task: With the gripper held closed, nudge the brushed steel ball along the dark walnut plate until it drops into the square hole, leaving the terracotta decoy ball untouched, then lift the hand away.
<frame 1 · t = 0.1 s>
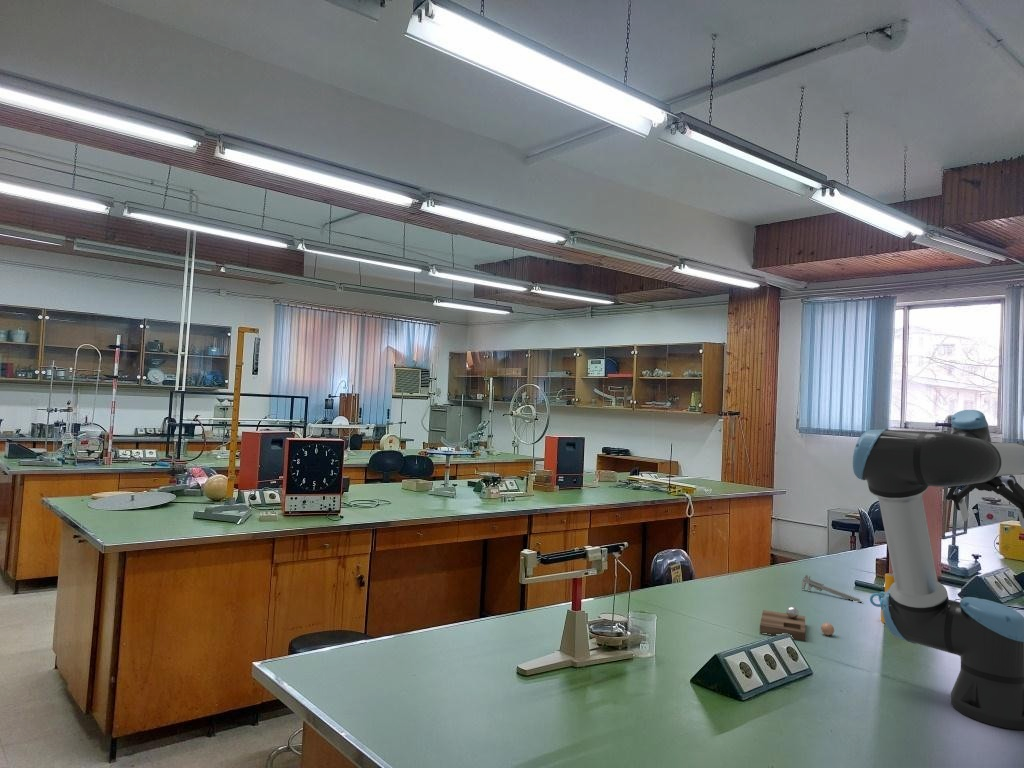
hand: (994, 522, 179), 36 cm above the countertop, tool tilted 35°, fingers open, 13 cm apart
decoy ball: (827, 629, 185), point 2 cm above the countertop
caliper: (831, 597, 228), on the countertop
steel ball: (792, 612, 192), point 4 cm above the countertop, touching hole plate
hole plate: (782, 629, 189), on the countertop
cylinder: (891, 623, 199), on the countertop
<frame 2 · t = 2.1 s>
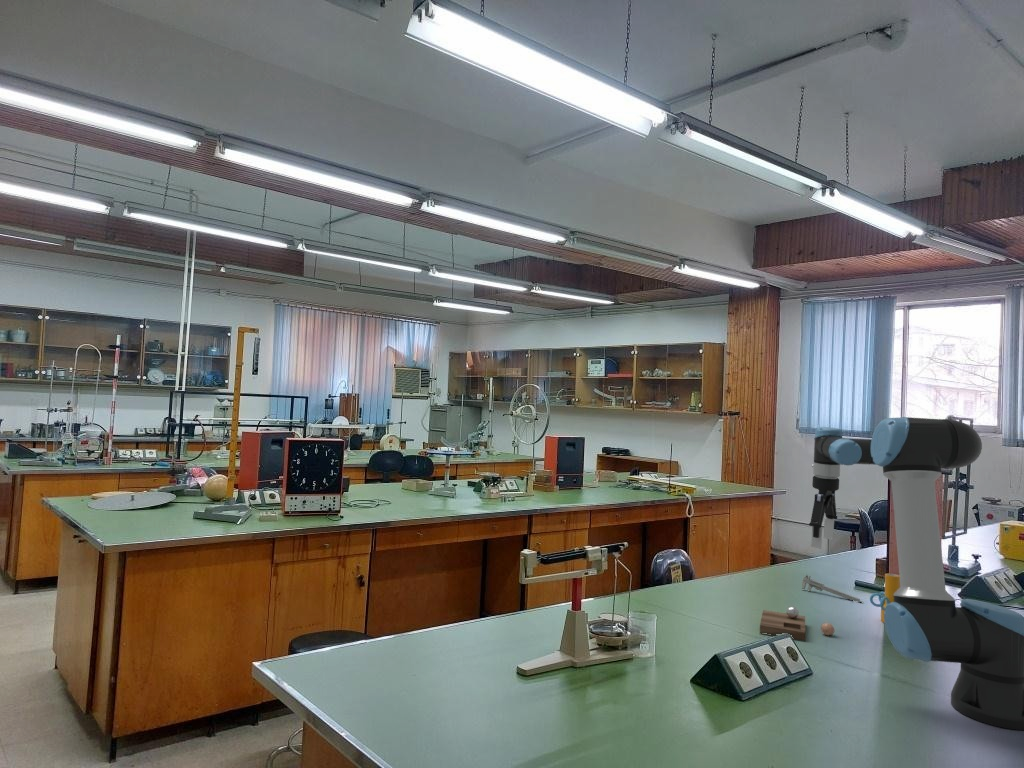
hand: (822, 543, 200), 24 cm above the countertop, tool pointing down, fingers open, 13 cm apart
nothing on the countertop moved.
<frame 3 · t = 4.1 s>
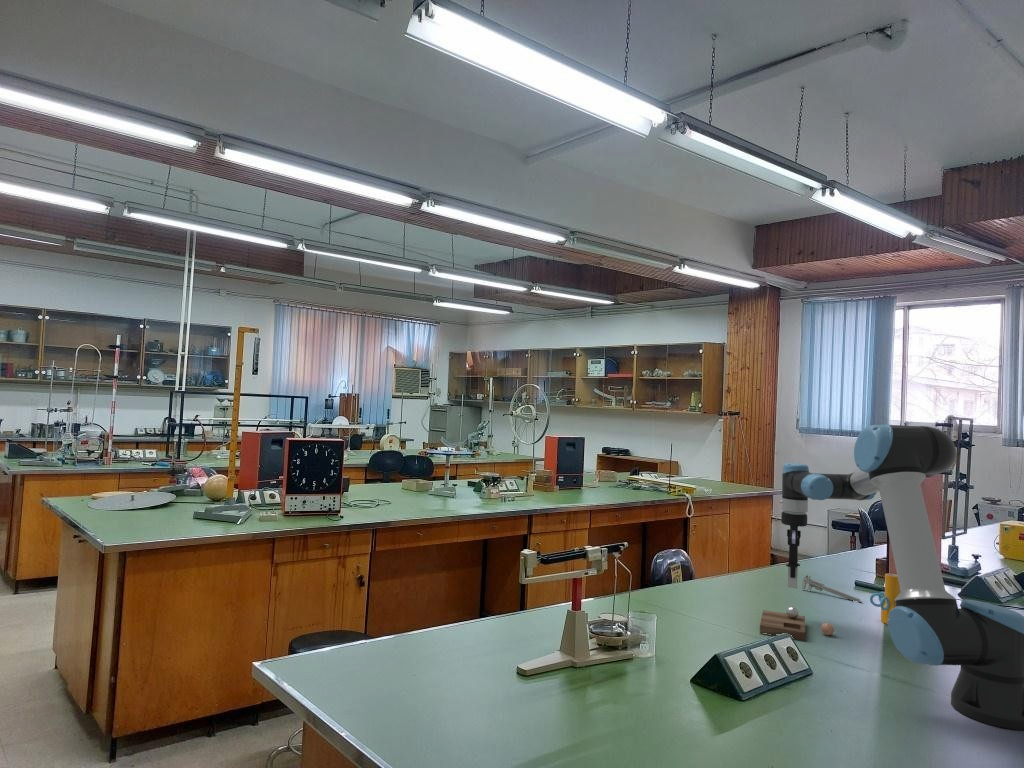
hand: (792, 587, 200), 10 cm above the countertop, tool pointing down, fingers closed
nothing on the countertop moved.
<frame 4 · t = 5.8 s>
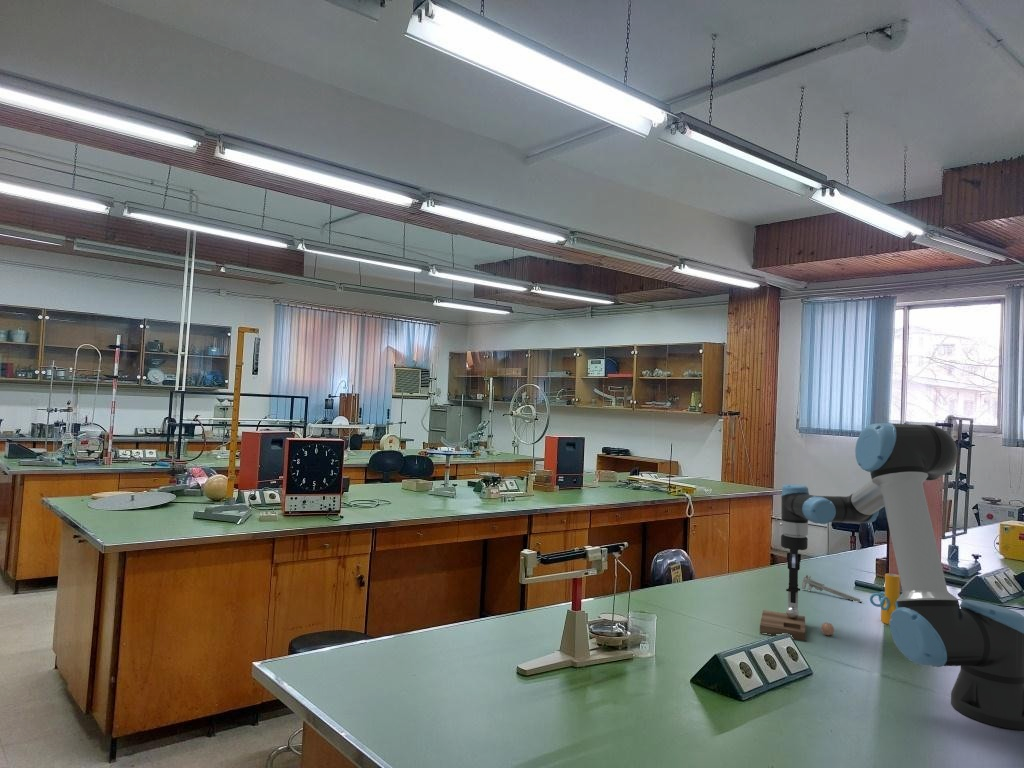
hand: (792, 612, 194), 4 cm above the countertop, tool pointing down, fingers closed
steel ball: (792, 612, 192), point 4 cm above the countertop, tilted 7°, touching gripper, hole plate
everything else where it was.
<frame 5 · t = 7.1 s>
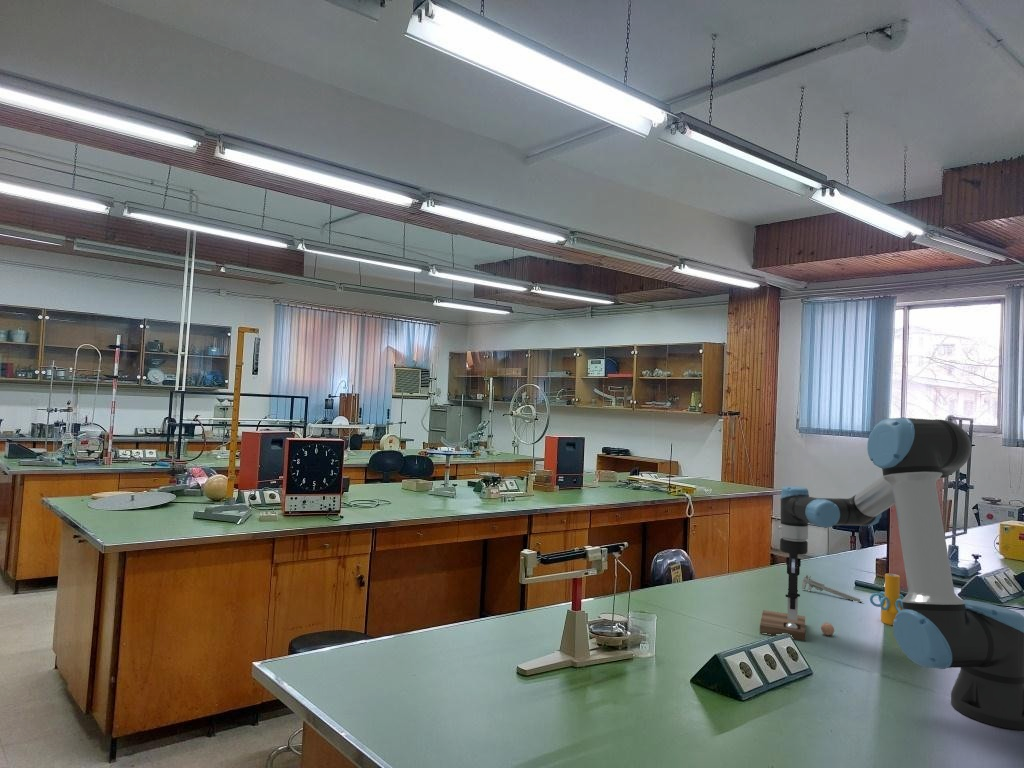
hand: (792, 619, 187), 4 cm above the countertop, tool pointing down, fingers closed
steel ball: (791, 628, 185), point 2 cm above the countertop, tilted 72°
everything else where it was.
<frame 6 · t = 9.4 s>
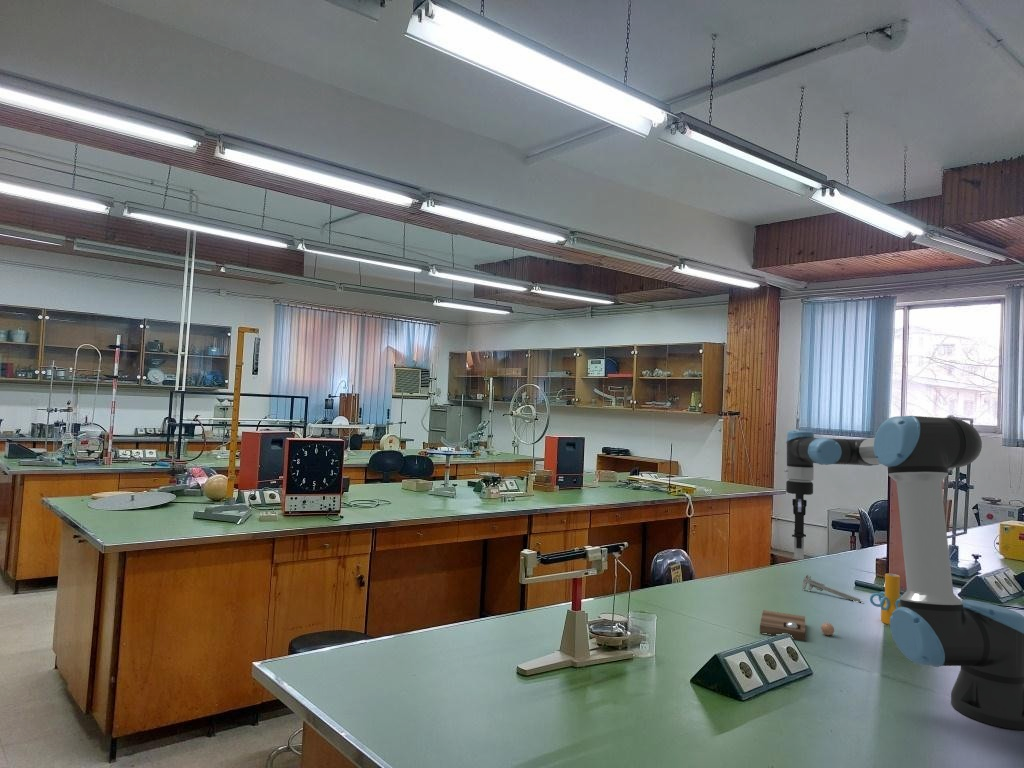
hand: (798, 558, 193), 21 cm above the countertop, tool pointing down, fingers closed
steel ball: (791, 627, 185), point 2 cm above the countertop, tilted 97°
everything else where it was.
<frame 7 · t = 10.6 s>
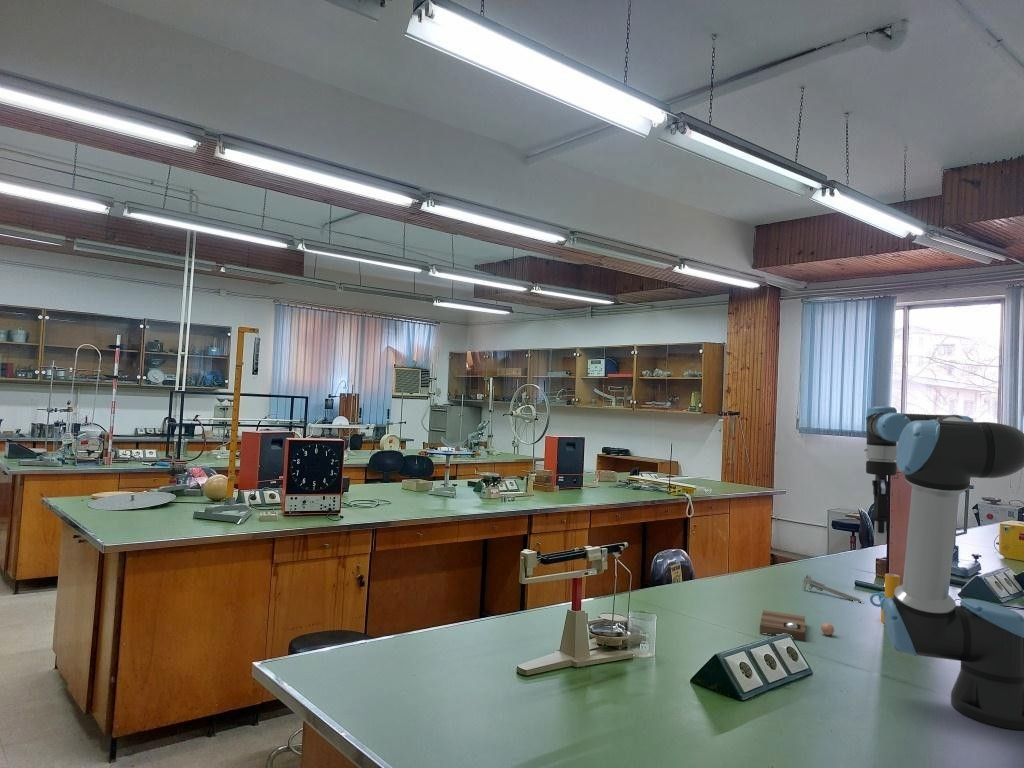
hand: (880, 544, 179), 28 cm above the countertop, tool pointing down, fingers closed
steel ball: (791, 628, 185), point 2 cm above the countertop, tilted 92°
everything else where it was.
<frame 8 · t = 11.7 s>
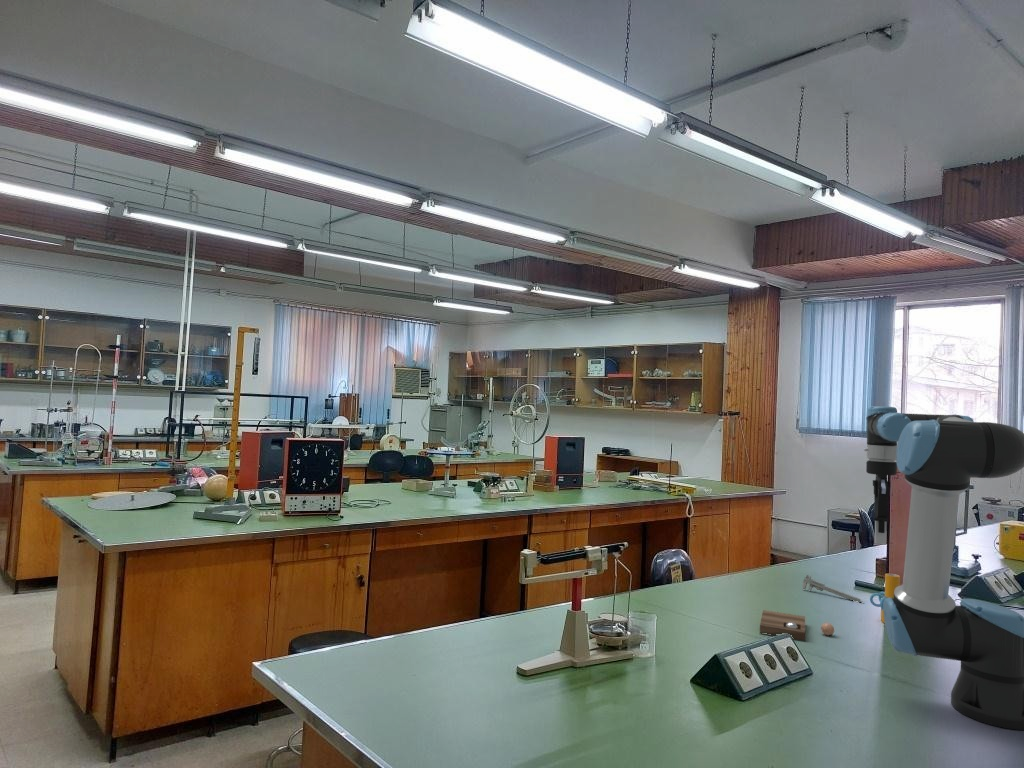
hand: (880, 543, 179), 28 cm above the countertop, tool pointing down, fingers closed
steel ball: (791, 628, 185), point 2 cm above the countertop, tilted 86°
everything else where it was.
at the end: steel ball 0.1 cm from the target spot on the hole plate, point 1.7 cm above the hole plate's base; decoy ball moved 0.1 cm from its start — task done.
